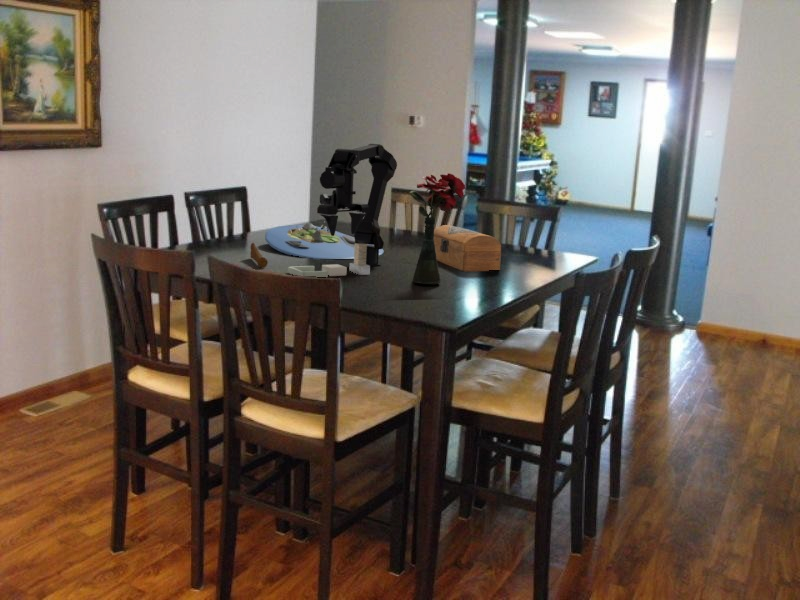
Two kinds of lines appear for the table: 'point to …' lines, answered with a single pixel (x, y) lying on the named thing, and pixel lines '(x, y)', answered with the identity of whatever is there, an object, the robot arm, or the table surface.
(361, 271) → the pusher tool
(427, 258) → the carnation
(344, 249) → the serving platter
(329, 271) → the tile
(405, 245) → the table surface
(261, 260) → the primitive tool
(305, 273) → the bay
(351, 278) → the table surface
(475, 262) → the wooden box
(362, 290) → the table surface
